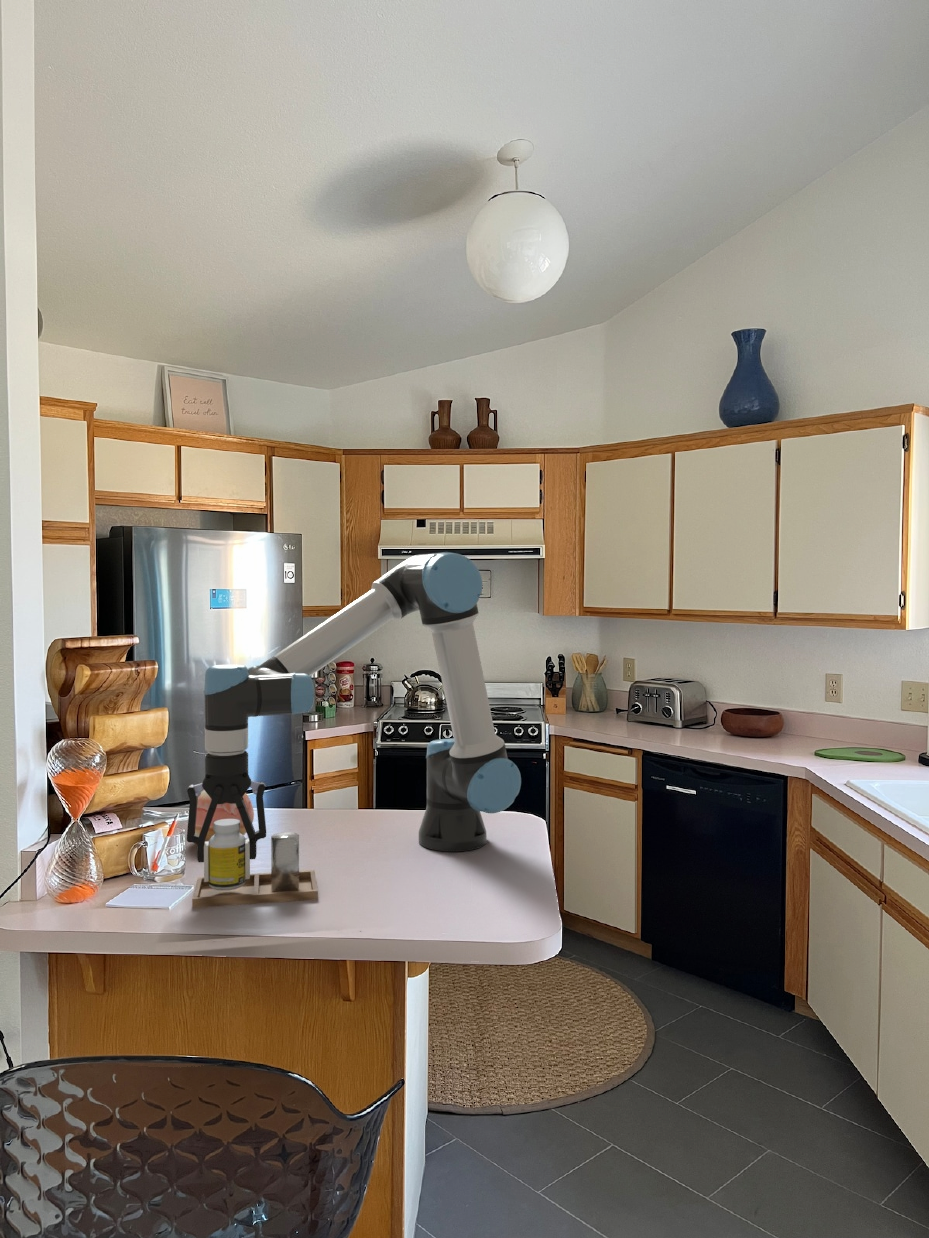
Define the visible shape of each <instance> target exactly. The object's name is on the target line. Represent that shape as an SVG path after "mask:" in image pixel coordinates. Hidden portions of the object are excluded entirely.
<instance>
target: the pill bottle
mask: <svg viewBox="0 0 929 1238" xmlns="http://www.w3.org/2000/svg"><path fill="white" fill-rule="evenodd" d="M213 829H214V831H215V835H213V836H212V837H211V838H210V840H209V885H210V887H211V888H213V889H215V890H233V889H237V888H240V887H242V886H243V885H244V884H245V882H246V879H245V841H246V837H245V835H242V834H241V833H239V830H240V821H239V820H237V819H221V820H217V821H215V822H214V827H213Z"/></svg>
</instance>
